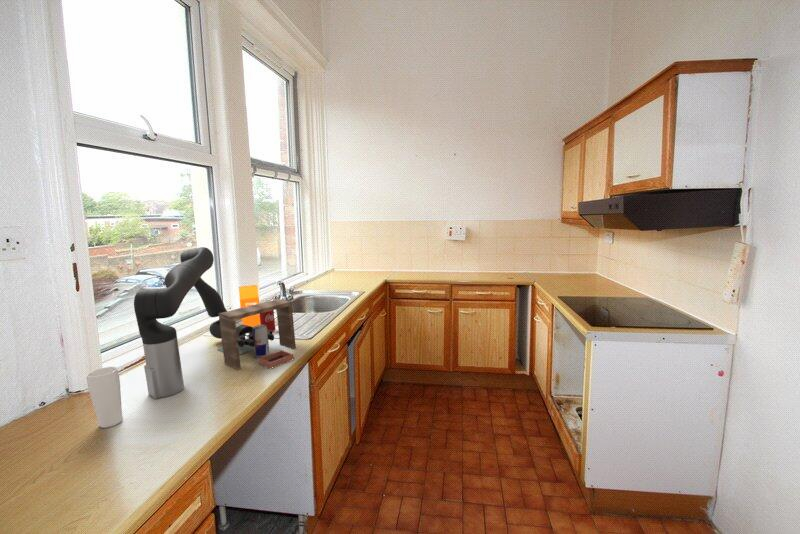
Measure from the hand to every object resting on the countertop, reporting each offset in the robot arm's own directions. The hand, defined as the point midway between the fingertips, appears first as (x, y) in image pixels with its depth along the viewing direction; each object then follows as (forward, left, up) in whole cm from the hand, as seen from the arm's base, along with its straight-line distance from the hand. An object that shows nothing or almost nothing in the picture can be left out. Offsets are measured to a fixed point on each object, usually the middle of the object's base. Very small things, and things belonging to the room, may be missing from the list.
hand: (263, 340), depth 148 cm
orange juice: (+20, +45, -7) cm, 50 cm away
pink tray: (0, -7, -7) cm, 10 cm away
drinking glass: (-51, -7, -7) cm, 52 cm away
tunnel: (0, +3, -7) cm, 7 cm away
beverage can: (+18, +27, -7) cm, 33 cm away
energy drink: (0, +2, -7) cm, 7 cm away
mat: (0, +18, -7) cm, 19 cm away
